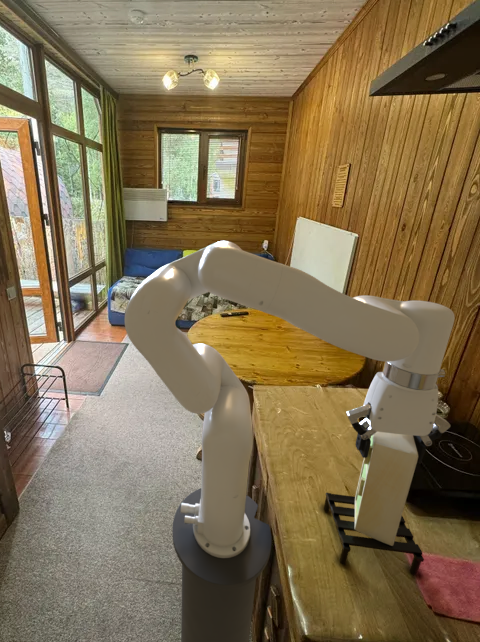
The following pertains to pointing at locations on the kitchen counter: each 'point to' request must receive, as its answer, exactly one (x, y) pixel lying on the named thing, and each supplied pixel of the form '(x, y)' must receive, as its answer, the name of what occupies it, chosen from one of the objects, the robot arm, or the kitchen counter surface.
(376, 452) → the toy refrigerator
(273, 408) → the kitchen counter surface
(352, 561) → the kitchen counter surface
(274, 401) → the kitchen counter surface
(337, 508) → the rack
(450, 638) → the kitchen counter surface
